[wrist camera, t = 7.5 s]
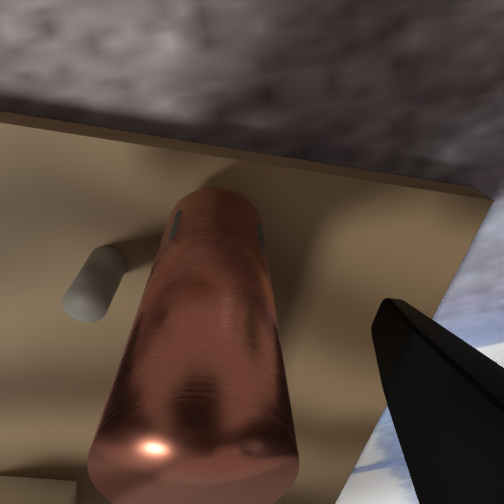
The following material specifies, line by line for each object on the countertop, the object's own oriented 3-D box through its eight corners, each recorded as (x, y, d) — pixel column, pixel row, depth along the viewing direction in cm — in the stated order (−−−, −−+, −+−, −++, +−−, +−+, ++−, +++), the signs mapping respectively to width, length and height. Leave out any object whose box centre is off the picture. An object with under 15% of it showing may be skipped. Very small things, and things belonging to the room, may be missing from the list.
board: (312, 517, 24) (324, 588, 21) (6, 505, 21) (-31, 582, 18) (472, 187, 13) (546, 234, 10) (-108, 93, 11) (-242, 117, 8)
